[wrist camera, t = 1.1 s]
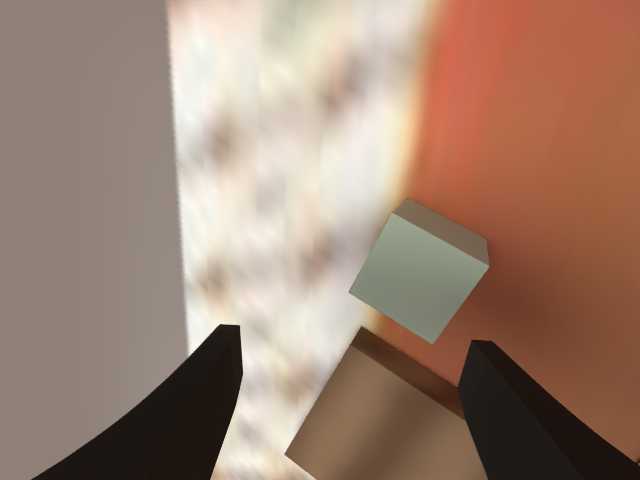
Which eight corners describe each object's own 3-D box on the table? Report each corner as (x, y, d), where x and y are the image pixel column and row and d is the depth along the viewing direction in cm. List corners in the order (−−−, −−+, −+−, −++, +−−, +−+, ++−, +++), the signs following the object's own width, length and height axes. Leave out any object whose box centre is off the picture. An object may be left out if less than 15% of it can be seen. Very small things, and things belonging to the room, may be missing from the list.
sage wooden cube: (486, 238, 21) (489, 266, 16) (440, 304, 23) (432, 344, 18) (408, 197, 22) (392, 212, 17) (372, 263, 24) (348, 292, 19)
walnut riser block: (524, 426, 23) (531, 464, 20) (428, 522, 28) (423, 562, 25) (363, 323, 26) (350, 344, 23) (300, 426, 30) (284, 454, 28)
